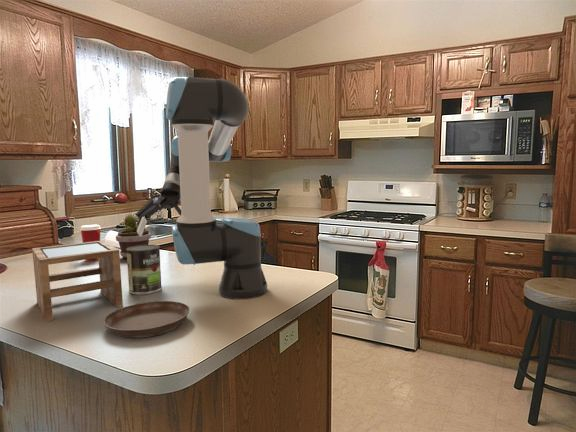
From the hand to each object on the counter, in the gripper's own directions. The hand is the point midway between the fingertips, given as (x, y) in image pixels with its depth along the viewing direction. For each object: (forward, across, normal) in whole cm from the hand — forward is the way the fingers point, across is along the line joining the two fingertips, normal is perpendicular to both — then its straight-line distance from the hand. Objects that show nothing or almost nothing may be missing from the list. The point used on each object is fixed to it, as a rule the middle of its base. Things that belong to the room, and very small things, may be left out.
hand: (157, 234), depth 144 cm
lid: (+19, +13, +17) cm, 29 cm away
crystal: (-31, +51, -55) cm, 81 cm away
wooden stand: (+30, +13, +7) cm, 33 cm away
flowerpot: (-13, +29, -37) cm, 49 cm away
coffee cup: (-9, +45, -33) cm, 56 cm away
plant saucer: (+40, -16, +15) cm, 45 cm away
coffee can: (+19, 0, -4) cm, 20 cm away
